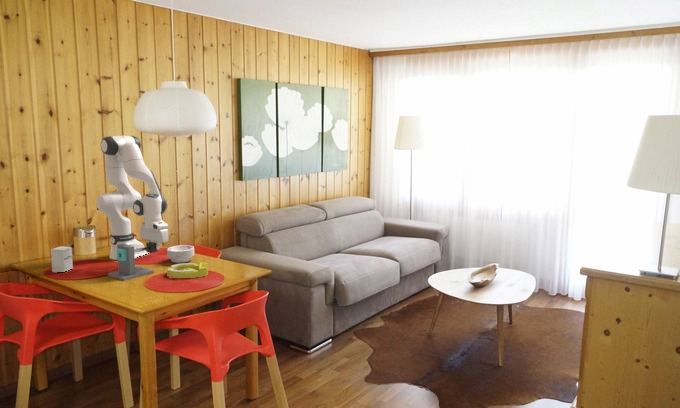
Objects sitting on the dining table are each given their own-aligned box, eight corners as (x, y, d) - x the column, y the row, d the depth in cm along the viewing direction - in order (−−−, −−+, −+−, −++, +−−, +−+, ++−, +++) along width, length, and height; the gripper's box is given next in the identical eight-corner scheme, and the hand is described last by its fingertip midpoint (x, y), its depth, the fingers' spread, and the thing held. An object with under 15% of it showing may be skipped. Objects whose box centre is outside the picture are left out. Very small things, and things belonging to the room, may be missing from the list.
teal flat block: (120, 258, 280) (119, 248, 279) (126, 260, 277) (126, 249, 276) (117, 259, 279) (116, 249, 278) (123, 261, 276) (123, 250, 275)
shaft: (152, 250, 296) (152, 241, 295) (157, 251, 294) (157, 242, 293) (120, 257, 279) (119, 248, 278) (125, 259, 277) (124, 249, 276)
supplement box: (64, 273, 283) (62, 250, 281) (51, 272, 284) (50, 249, 282) (73, 269, 290) (72, 246, 288) (61, 268, 292) (60, 245, 290)
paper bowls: (162, 260, 311) (162, 247, 310) (187, 256, 321) (187, 243, 320) (174, 266, 300) (173, 252, 299) (199, 261, 310) (199, 248, 309)
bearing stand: (137, 268, 295) (136, 239, 292) (153, 272, 287) (152, 243, 284) (107, 275, 280) (106, 246, 277) (124, 280, 272) (122, 250, 270)
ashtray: (207, 278, 279) (207, 269, 278) (165, 280, 275) (165, 271, 274) (208, 269, 295) (208, 261, 294) (169, 271, 291) (168, 262, 290)
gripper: (136, 222, 295) (137, 246, 297) (160, 226, 284) (161, 252, 286) (146, 220, 300) (147, 244, 302) (170, 225, 289) (170, 249, 291)
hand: (154, 248), depth 294 cm, fingers closed on shaft, 4 cm apart
